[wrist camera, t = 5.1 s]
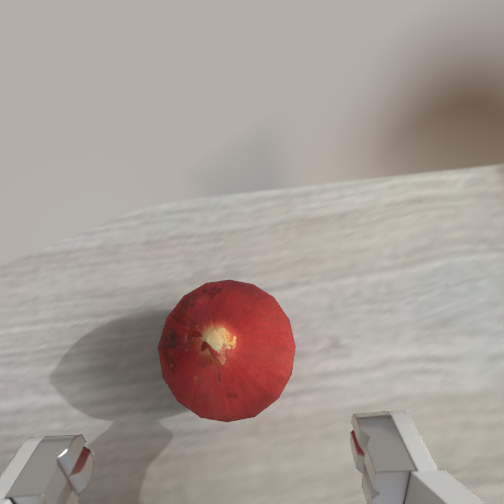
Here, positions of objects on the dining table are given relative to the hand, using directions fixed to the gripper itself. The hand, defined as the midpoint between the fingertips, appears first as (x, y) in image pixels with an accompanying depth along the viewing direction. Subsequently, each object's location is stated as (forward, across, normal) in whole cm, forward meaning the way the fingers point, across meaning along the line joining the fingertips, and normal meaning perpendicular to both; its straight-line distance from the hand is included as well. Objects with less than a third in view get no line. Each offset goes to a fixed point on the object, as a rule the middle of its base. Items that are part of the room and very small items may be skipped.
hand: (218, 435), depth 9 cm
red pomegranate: (+7, 0, +3) cm, 8 cm away
